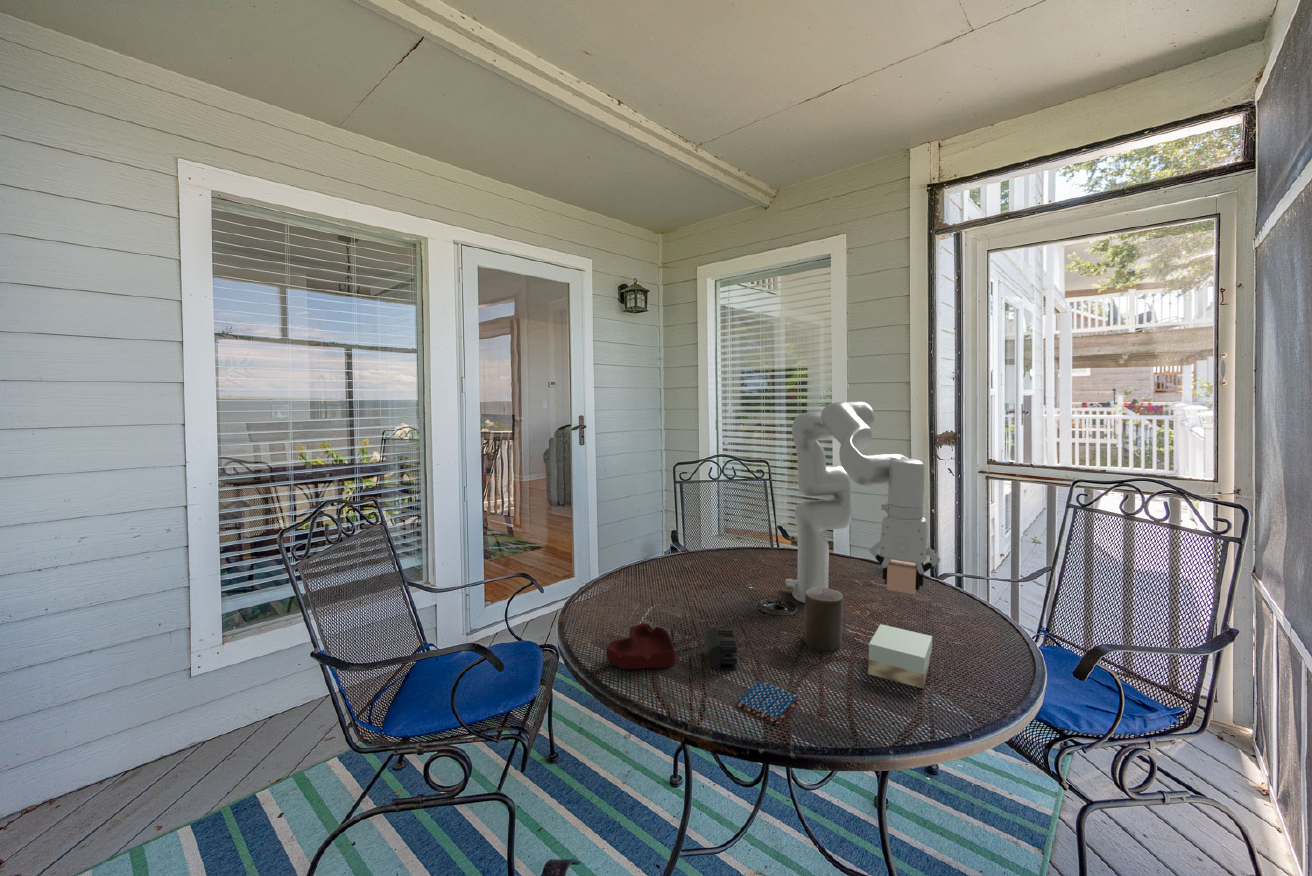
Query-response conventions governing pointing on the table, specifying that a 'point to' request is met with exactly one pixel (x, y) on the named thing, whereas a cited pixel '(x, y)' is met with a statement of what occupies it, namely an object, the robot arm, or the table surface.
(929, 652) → the sage slab
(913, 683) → the birch slab
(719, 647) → the end cap
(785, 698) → the woven mat
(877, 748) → the table surface
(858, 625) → the table surface
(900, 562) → the terracotta cube
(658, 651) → the ashtray
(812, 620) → the pillar candle
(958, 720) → the table surface
